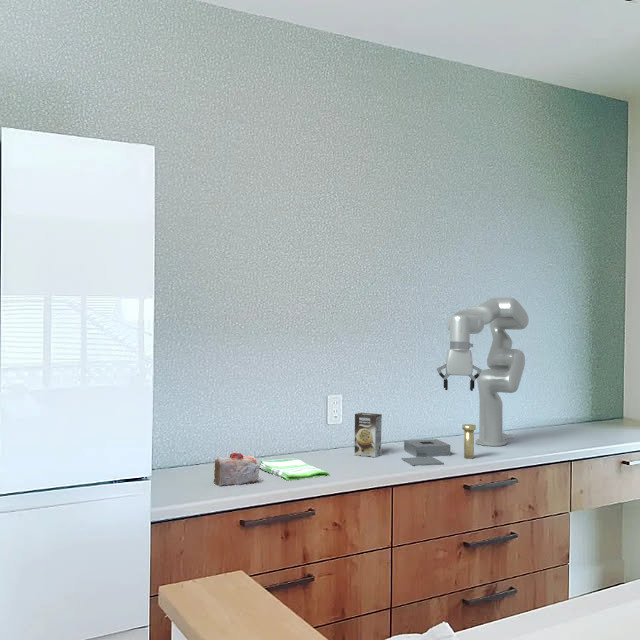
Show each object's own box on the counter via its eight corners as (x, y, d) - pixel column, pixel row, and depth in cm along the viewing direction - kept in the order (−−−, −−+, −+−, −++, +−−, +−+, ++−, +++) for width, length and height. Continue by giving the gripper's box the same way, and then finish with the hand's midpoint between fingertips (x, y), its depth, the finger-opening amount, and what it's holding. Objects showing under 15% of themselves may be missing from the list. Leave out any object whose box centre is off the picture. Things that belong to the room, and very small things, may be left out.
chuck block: (436, 448, 290) (436, 439, 290) (450, 455, 276) (450, 445, 276) (404, 450, 287) (404, 440, 287) (416, 457, 273) (416, 446, 273)
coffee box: (353, 455, 276) (353, 414, 276) (360, 452, 282) (360, 412, 282) (375, 457, 272) (375, 415, 272) (382, 454, 278) (382, 413, 278)
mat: (431, 458, 271) (431, 456, 271) (443, 464, 260) (443, 462, 260) (401, 459, 269) (401, 458, 269) (412, 465, 257) (412, 464, 257)
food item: (252, 478, 237) (252, 449, 237) (260, 483, 230) (260, 453, 230) (212, 482, 232) (212, 452, 232) (219, 487, 224) (219, 456, 224)
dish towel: (299, 464, 262) (299, 455, 261) (331, 477, 241) (331, 466, 241) (256, 469, 253) (256, 459, 253) (286, 483, 233) (286, 472, 233)
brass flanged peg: (472, 456, 275) (472, 424, 275) (477, 458, 270) (477, 426, 270) (460, 456, 274) (460, 424, 273) (465, 459, 269) (465, 426, 269)
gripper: (480, 346, 281) (480, 390, 281) (436, 345, 283) (435, 389, 282) (483, 347, 274) (482, 391, 273) (437, 346, 275) (437, 390, 275)
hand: (458, 390), depth 278 cm, fingers open, 9 cm apart
